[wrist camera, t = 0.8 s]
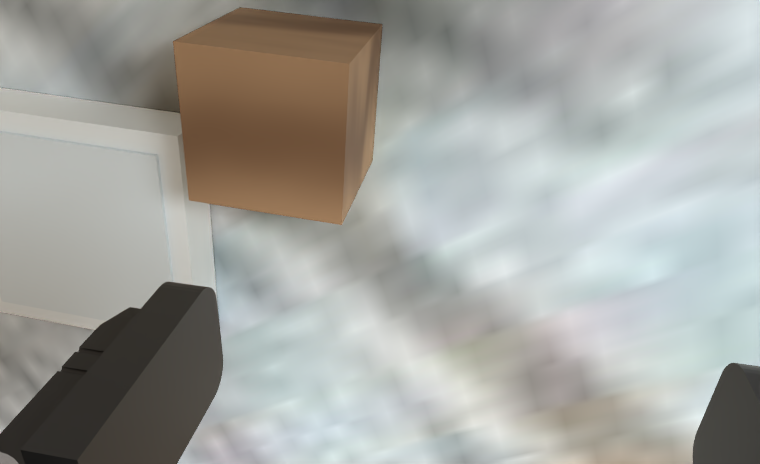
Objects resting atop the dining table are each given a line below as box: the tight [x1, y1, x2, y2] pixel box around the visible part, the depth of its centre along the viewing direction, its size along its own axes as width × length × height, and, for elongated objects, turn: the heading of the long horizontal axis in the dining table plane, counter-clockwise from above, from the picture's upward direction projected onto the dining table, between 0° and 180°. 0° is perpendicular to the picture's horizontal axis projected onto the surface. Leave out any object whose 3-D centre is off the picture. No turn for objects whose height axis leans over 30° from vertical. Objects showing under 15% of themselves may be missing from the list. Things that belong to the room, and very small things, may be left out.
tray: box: [0, 88, 218, 330], centre depth 31 cm, size 12×12×3 cm
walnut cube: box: [173, 7, 383, 225], centre depth 24 cm, size 6×6×6 cm
